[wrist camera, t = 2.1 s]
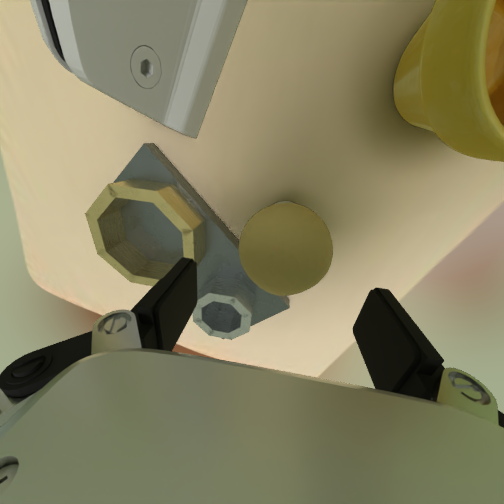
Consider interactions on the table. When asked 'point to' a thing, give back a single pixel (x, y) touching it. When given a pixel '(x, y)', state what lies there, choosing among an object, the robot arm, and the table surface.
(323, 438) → the robot arm
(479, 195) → the table surface
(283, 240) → the light bulb
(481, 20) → the plant pot
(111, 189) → the fitting plate
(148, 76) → the white rounded block
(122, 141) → the table surface
